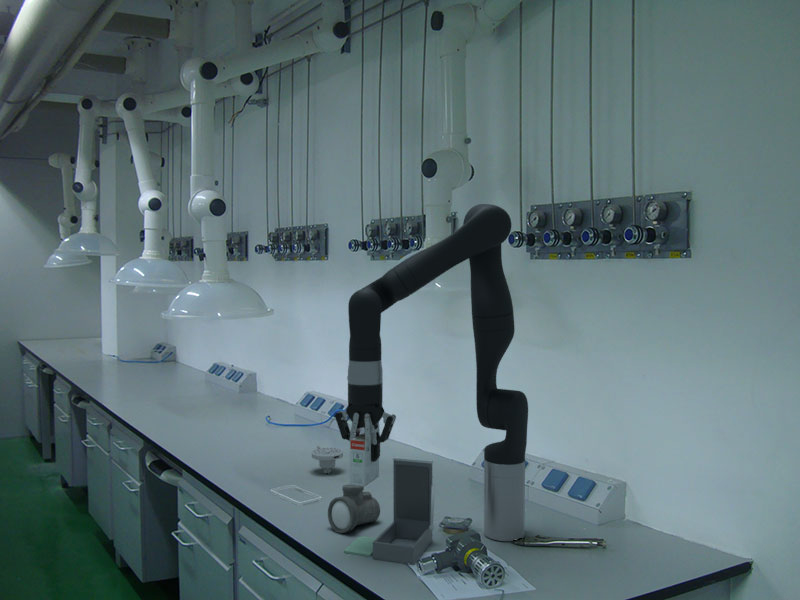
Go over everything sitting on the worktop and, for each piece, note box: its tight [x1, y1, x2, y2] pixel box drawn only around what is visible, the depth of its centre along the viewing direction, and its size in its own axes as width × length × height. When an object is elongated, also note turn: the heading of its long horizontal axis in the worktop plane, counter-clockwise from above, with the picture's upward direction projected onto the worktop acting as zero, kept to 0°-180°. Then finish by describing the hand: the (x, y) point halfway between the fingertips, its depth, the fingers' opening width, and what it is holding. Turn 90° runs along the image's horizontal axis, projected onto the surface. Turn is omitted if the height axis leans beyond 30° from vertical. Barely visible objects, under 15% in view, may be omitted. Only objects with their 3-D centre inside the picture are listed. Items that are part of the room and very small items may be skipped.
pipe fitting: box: [327, 483, 381, 534], centre depth 161 cm, size 12×8×10 cm, turn 137°
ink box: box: [349, 417, 380, 487], centre depth 147 cm, size 4×8×15 cm, turn 159°
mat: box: [343, 535, 377, 557], centre depth 148 cm, size 9×6×1 cm, turn 161°
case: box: [372, 456, 436, 565], centre depth 146 cm, size 14×10×18 cm
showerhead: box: [311, 445, 344, 474], centre depth 206 cm, size 9×7×10 cm
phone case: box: [269, 484, 323, 507], centre depth 183 cm, size 7×1×15 cm
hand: (365, 459), depth 147 cm, fingers closed on ink box, 3 cm apart
